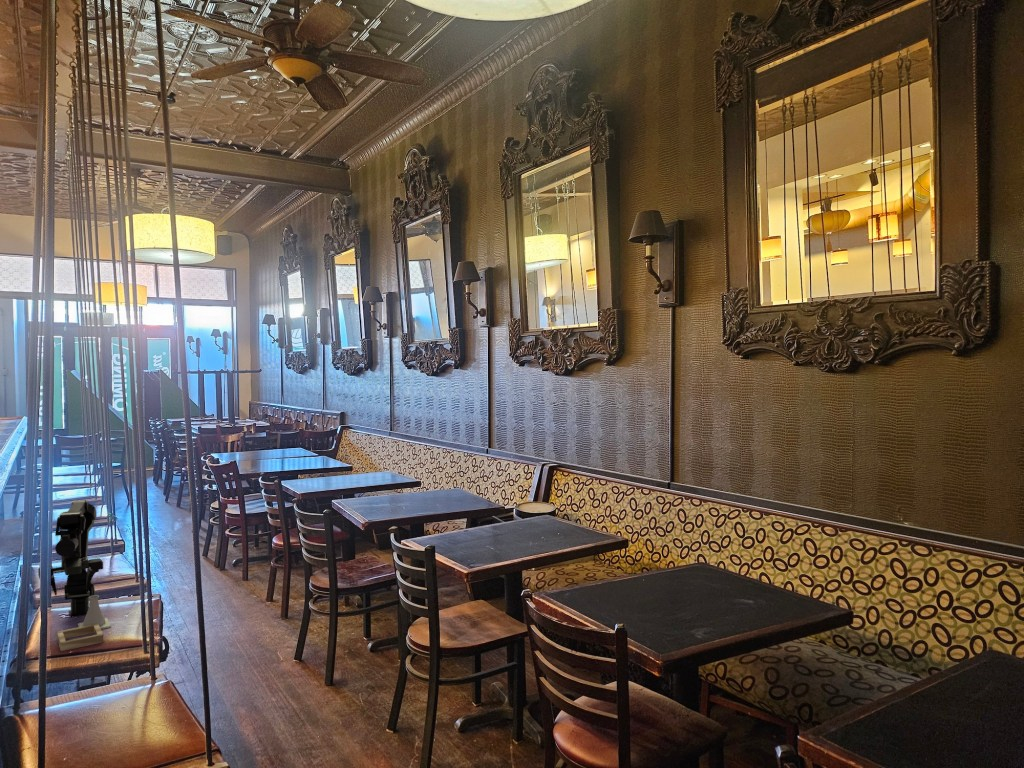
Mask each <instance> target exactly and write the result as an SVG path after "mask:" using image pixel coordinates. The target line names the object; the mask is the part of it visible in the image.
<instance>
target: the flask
mask: <svg viewBox="0 0 1024 768" xmlns="http://www.w3.org/2000/svg"><path fill="white" fill-rule="evenodd" d="M99 598H100V595H98V594H95V595H94V596H90V597H89V609H88V612H87V614H86V615H85V618H84V620H83V621H82V623H83V626H88V625H93V624H99V626H101V625H103V624H104V623H106V622H105V618H106V617H105V616H104V614H103V612H102V610H101V607H100V605H99V604H100V603H99Z"/></svg>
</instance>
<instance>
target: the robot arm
mask: <svg viewBox="0 0 1024 768" xmlns="http://www.w3.org/2000/svg"><path fill="white" fill-rule="evenodd" d="M96 520H97V509H96V507H95V506H94V505H93V504H92V503H90V502H89V501H88V499H87V500H86V499H79V500H75V499H74V500H73V501H72V502H71V505H70V507H69V508H68V510H66V511H63V512H61V513H60V514H59V516H58V517H57V518H56V525H55V533H54V535H55V536H56V537H59V536H60V539H59V541H58V542H57V543H56V545H55V549H54V550H55V552H56V554H57V555H59V556H60V557H61V559H60V560H61V566H58V567H57V566H56V567H53V565H52V564H51V584H50V586H51V588H52V591H53V593H54V596H57V585H56V578H55V576H54V574H59V573H64V575H65V576H67V577H66V578H67V579H66V583H65V584H64V587H63V588H64V599H65V601H67V600H70V610H68V615H69V617H70V618H74V617H80V616H86V615H87V612H88V609H89V604H90V600H89V597H90V596H94V595H96V590H95V584H94V583H93V577H94V575H95V574H96V573H98V572H100V571H101V570H103V569H104V562H103V560H102V559H101V558H99V557H97V558H91V559H90V558H89V557H88V549H89V536H90V535H89V533H90V531H91V529H93V527H94V526H95V521H96ZM37 573H38V574H37V575H38V578H39V579H40V567H39V568H38V570H37Z"/></svg>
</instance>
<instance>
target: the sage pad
mask: <svg viewBox="0 0 1024 768" xmlns="http://www.w3.org/2000/svg"><path fill="white" fill-rule="evenodd" d="M104 618H105V622H106V623H104V624H103V625H101V626H100V629H101V630H105V629H109V628H112V624H111V622H110V621H109V619H108V617H104ZM78 627H83V622H78V623H77V628H78Z"/></svg>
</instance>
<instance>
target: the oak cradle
mask: <svg viewBox="0 0 1024 768" xmlns="http://www.w3.org/2000/svg"><path fill="white" fill-rule="evenodd" d="M91 634H93V635H91ZM85 635H89V636H85ZM79 636H80V637H79ZM81 636H84V637H81ZM75 637H79V638H75ZM71 638H74V639H71ZM67 639H68V640H67ZM56 640H57V644H58V647H59V650H60V652H63V651H64V652H65V651H68V650H74V649H78V648H83V647H87V646H92V645H96V644H101V643H104V641H105V639H104V633H103V631H102V629H100V626H99V624H93V625H88V626H83V627H78V626H77V627H73V628H69V629H65V630H64V629H63V630H59V631H56Z"/></svg>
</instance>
